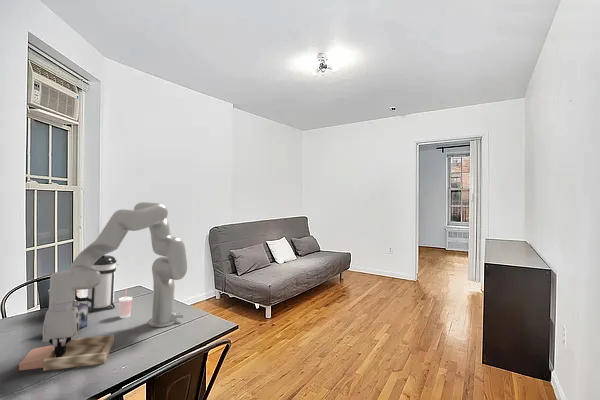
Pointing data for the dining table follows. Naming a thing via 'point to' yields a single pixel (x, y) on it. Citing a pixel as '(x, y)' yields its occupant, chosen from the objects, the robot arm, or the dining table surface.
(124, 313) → the beverage cup
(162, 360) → the dining table surface
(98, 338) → the wooden tray
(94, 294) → the coffee press
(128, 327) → the dining table surface
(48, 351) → the cover plate
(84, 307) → the small box
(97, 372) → the dining table surface
